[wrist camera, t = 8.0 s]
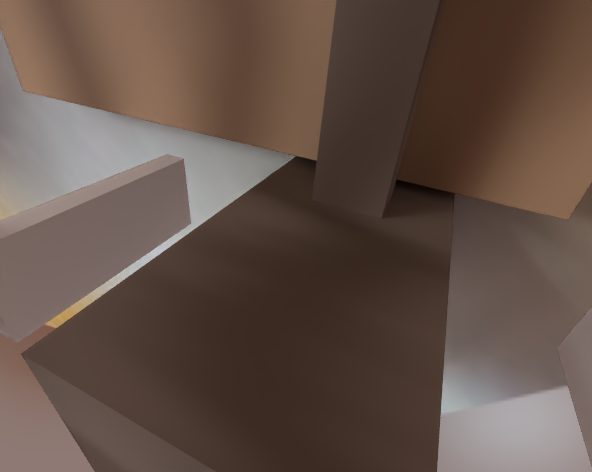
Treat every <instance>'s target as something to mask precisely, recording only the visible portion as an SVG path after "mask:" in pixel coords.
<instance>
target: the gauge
mask: <svg viewBox="0 0 592 472" xmlns="http://www.w3.org/2000/svg"><path fill="white" fill-rule="evenodd" d="M445 2H446V0H336V8H335V16H334V24H333V32H332V40H331V49H330V57H329V65H328V73H327V81H326V89H325V97H324V106H323V114H322V122H321V130H320V138H319V146H318V155H317V161H316V160H312V159H308V158H304V157H300V156H296V157H295V158H294V159H292V160H291V161H289V162H288V163H287V164H285V165H284V166H282V167H281V168H280V169H278V170H277V171H275V172H274V173H273V174H271V175H270V176H268V177H267V178H266V179H264V180H263V181H261V182H260V183H259V184H257V185H256V186H254V187H253V188H252V189H250V190H249V191H247V192H246V193H245V194H243V195H242V196H240V197H239V198H238V199H236V200H235V201H234V202H232V203H231V204H229V205H228V206H227V207H225V208H224V209H222V210H221V211H220V212H218V213H217V214H215V215H214V216H213V217H211V218H210V219H208V220H207V221H206V222H204V223H203V224H201V225H200V226H199V227H197V228H196V229H194V230H193V231H192V232H190V233H189V234H187V235H186V236H185V237H183V238H182V239H180V240H179V241H178V242H176V243H175V244H174V245H172V246H171V247H169V248H168V249H167V250H165V251H164V252H162V253H161V254H160V255H158V256H157V257H155V258H154V259H153V260H151V261H150V262H148V263H147V264H146V265H144V266H143V267H141V268H140V269H139V270H137V271H136V272H134V273H133V274H132V275H130V276H129V277H127V278H126V279H125V280H123V281H122V282H120V283H119V284H118V285H116V286H115V287H114V288H112V289H111V290H109V291H108V292H107V293H105V294H104V295H102V296H101V297H100V298H98V299H97V300H95V301H94V302H93V303H91V304H90V305H88V306H87V307H86V308H84V309H83V310H81V311H80V312H79V313H77V314H76V315H74V316H73V317H72V318H70V319H69V320H67V321H66V322H65V323H63V324H62V325H60V326H59V327H58V328H56V329H55V330H54V331H52V332H51V333H49V334H48V335H47V336H45V337H44V338H42V339H41V340H40V341H38V342H37V343H35V344H34V345H33V346H31V347H30V348H28V349H27V350H26V351H24V352H23V353H21V355H22V356H23V358H24V360H25V361H26V363H27V364H28V366H29V367H30V369H31V371H32V372H33V374H34V376H35V377H36V379H37V380H38V382H39V383H40V385H41V386H42V388H43V390H44V391H45V393H46V394H47V396H48V398H49V399H50V401H51V403H52V404H53V406H54V407H55V409H56V411H57V412H58V414H59V415H60V417H61V419H62V420H63V422H64V423H65V425H66V426H67V428H68V430H69V431H70V433H71V434H72V436H73V438H74V439H75V441H76V442H77V444H78V445H79V447H80V449H81V450H82V452H83V453H84V455H85V457H86V458H87V460H88V461H89V463H90V464H91V466H92V468H93V469H94V471H95V472H437V460H438V445H439V444H438V443H439V428H440V414H441V398H442V383H443V367H444V351H445V336H446V320H447V305H448V289H449V273H450V258H451V242H452V227H453V211H454V196H455V193H452V192H448V191H443V190H439V189H435V188H431V187H426V186H422V185H418V184H414V183H410V182H405V181H401V180H397V176H398V172H399V169H400V165H401V162H402V158H403V154H404V151H405V147H406V143H407V140H408V136H409V133H410V129H411V125H412V122H413V118H414V114H415V111H416V107H417V103H418V100H419V96H420V93H421V89H422V85H423V82H424V78H425V74H426V71H427V67H428V64H429V60H430V56H431V53H432V49H433V45H434V42H435V38H436V34H437V31H438V27H439V24H440V20H441V16H442V13H443V9H444V5H445Z"/></svg>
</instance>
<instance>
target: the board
mask: <svg viewBox="0 0 592 472" xmlns="http://www.w3.org/2000/svg"><path fill="white" fill-rule="evenodd" d="M335 8H336V0H0V28H1V30H2V33H3V36H4V39H5V42H6V44H7V47H8V50H9V53H10V55H11V58H12V61H13V64H14V66H15V69H16V72H17V75H18V78H19V80H20V83H21V86H22V89H23V91H25V92H29V93H33V94H37V95H42V96H46V97H50V98H54V99H58V100H63V101H67V102H71V103H75V104H80V105H84V106H88V107H92V108H97V109H101V110H105V111H109V112H113V113H118V114H122V115H126V116H130V117H135V118H139V119H143V120H147V121H152V122H156V123H160V124H164V125H168V126H173V127H177V128H181V129H185V130H190V131H194V132H198V133H202V134H207V135H211V136H215V137H219V138H223V139H228V140H232V141H236V142H240V143H245V144H249V145H253V146H257V147H262V148H266V149H270V150H274V151H278V152H283V153H287V154H291V155H295V156H300V157H304V158H308V159H312V160H316V161H317V155H318V146H319V138H320V130H321V122H322V114H323V106H324V97H325V89H326V81H327V73H328V65H329V57H330V49H331V40H332V32H333V24H334V16H335ZM397 180H401V181H405V182H410V183H414V184H418V185H422V186H426V187H431V188H435V189H439V190H443V191H448V192H452V193H456V194H460V195H465V196H469V197H473V198H477V199H481V200H486V201H490V202H494V203H498V204H503V205H507V206H511V207H515V208H520V209H524V210H528V211H532V212H536V213H541V214H545V215H549V216H553V217H558V218H562V219H566V220H568V218H569V217H570V215H571V214H572V212H573V211H574V209H575V208H576V206H577V204H578V203H579V201H580V200H581V198H582V197H583V195H584V194H585V192H586V190H587V189H588V187H589V186H590V184H591V183H592V0H446V2H445V5H444V9H443V13H442V16H441V20H440V24H439V27H438V31H437V34H436V38H435V42H434V45H433V49H432V53H431V56H430V60H429V64H428V67H427V71H426V74H425V78H424V82H423V85H422V89H421V93H420V96H419V100H418V103H417V107H416V111H415V114H414V118H413V122H412V125H411V129H410V133H409V136H408V140H407V143H406V147H405V151H404V154H403V158H402V162H401V165H400V169H399V172H398V176H397Z"/></svg>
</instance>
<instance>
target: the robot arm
mask: <svg viewBox="0 0 592 472" xmlns="http://www.w3.org/2000/svg"><path fill="white" fill-rule="evenodd" d="M190 224H191V218H190V209H189V201H188V192H187V184H186V175H185V166H184V159H182V158H178V157H175V156H171V155H164V156H162V157H159V158H157V159H154V160H152V161H149V162H147V163H144V164H142V165H139V166H137V167H134V168H132V169H129V170H127V171H124V172H122V173H119V174H117V175H114V176H112V177H109V178H107V179H104V180H102V181H99V182H97V183H94V184H92V185H89V186H86V187H84V188H81V189H79V190H76V191H74V192H71V193H69V194H66V195H64V196H61V197H59V198H56V199H54V200H51V201H49V202H46V203H44V204H41V205H39V206H36V207H34V208H31V209H29V210H26V211H24V212H21V213H19V214H16V215H14V216H11V217H9V218H6V219H4V220H1V221H0V333H1V334H3V335H5V336H6V337H8V338H10V339H12V340H13V341H15V342H19V341H20V340H22V339H23V338H25V337H26V336H28V335H29V334H31V333H32V332H33V331H35V330H36V329H38V328H39V327H41V326H42V325H44V324H45V323H47V322H48V321H50V320H51V319H52V318H54V317H55V316H57V315H58V314H60V313H61V312H63V311H64V310H66V309H67V308H69V307H70V306H71V305H73V304H74V303H76V302H77V301H79V300H80V299H82V298H83V297H85V296H86V295H87V294H89V293H90V292H92V291H93V290H95V289H96V288H98V287H99V286H101V285H102V284H104V283H105V282H106V281H108V280H109V279H111V278H112V277H114V276H115V275H117V274H118V273H120V272H121V271H122V270H124V269H125V268H127V267H128V266H130V265H131V264H133V263H134V262H136V261H137V260H139V259H140V258H141V257H143V256H144V255H146V254H147V253H149V252H150V251H152V250H153V249H155V248H156V247H157V246H159V245H160V244H162V243H163V242H165V241H166V240H168V239H169V238H171V237H172V236H174V235H175V234H176V233H178V232H179V231H181V230H182V229H184V228H185V227H187V226H188V225H190ZM557 350H558V354H559V357H560V360H561V364H562V367H563V371H564V374H565V377H566V381H567V384H568V388H569V391H570V394H571V398H572V401H573V404H574V408H575V411H576V415H577V418H578V421H579V425H580V428H581V432H582V435H583V438H584V442H585V445H586V448H587V452H588V455H589V459H590V462H591V465H592V307H591V308H590V309H589V310H588V311H587V313H586V314H585V315H584V316H583V317H582V319H581V320H580V321H579V322H578V323H577V325H576V326H575V327H574V328H573V329H572V331H571V332H570V333H569V334H568V335H567V337H566V338H565V339H564V340H563V341H562V343H561V344H560V345H559V346H558V347H557Z"/></svg>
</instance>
